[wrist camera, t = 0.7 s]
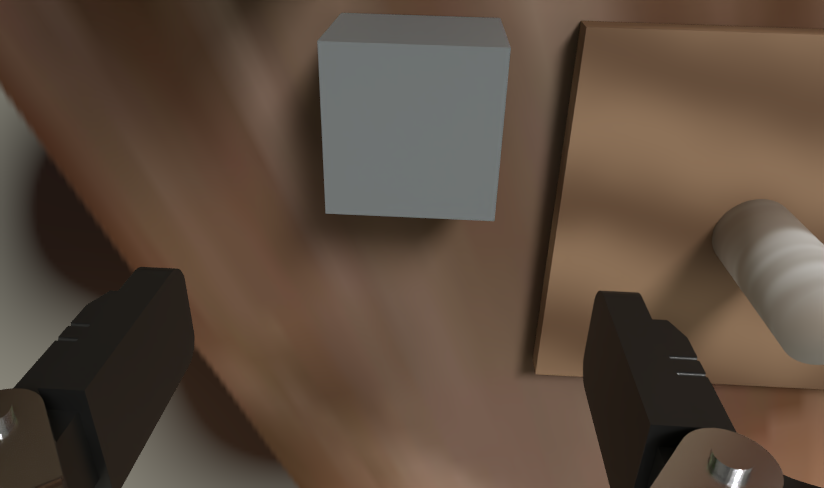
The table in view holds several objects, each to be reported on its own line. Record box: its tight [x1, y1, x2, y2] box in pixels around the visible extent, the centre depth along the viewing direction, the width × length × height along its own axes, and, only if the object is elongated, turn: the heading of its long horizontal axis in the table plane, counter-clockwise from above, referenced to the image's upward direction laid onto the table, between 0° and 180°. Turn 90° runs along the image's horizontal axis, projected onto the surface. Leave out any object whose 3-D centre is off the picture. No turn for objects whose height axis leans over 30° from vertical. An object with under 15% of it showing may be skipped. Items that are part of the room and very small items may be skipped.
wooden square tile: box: [533, 21, 824, 389], centre depth 25 cm, size 16×16×8 cm
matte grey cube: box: [317, 13, 511, 221], centre depth 24 cm, size 6×6×5 cm
